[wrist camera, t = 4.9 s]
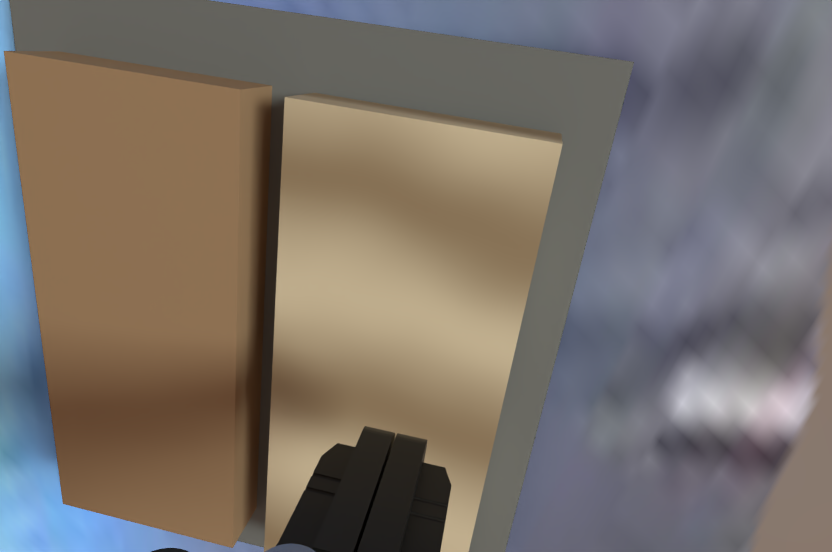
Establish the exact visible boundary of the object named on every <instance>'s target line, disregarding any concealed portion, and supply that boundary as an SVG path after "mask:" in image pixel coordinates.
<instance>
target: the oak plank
mask: <svg viewBox="0 0 832 552" xmlns="http://www.w3.org/2000/svg"><path fill="white" fill-rule="evenodd" d="M562 145H563V142H562V134H560V133H554V132H548V131H542V130H536V129H530V128H524V127H518V126H512V125H506V124H500V123H494V122H488V121H482V120H476V119H470V118H464V117H458V116H452V115H446V114H440V113H434V112H428V111H422V110H416V109H410V108H404V107H398V106H392V105H386V104H380V103H374V102H368V101H362V100H355V99H349V98H343V97H337V96H331V95H325V94H319V93H309V94H302V95H295V96H288V97H285V102H284V124H283V146H282V168H281V189H280V211H279V233H278V255H277V277H276V299H275V321H274V343H273V365H272V387H271V409H270V431H269V453H268V475H267V497H266V519H265V541H264V552H265V551H267V550H269V549H270V548H272V547H275V546H276V545H277V543H278V542H279V540H280V538H281V536H282V534H283V532H284V530H285V528H286V526H287V524H288V522H289V520H290V518H291V516H292V514H293V512H294V510H295V508H296V506H297V504H298V502H299V500H300V498H301V496H302V494H303V492H304V490H305V489H306V486H307V484H308V482H309V480H310V478H311V476H312V475H313V472H314V470H315V468H316V466H317V464H318V462H319V460H320V458H321V456H322V455H323V454H324V453H326V452H327V451H328V450H329V449H331V448H332V447H333V446H334V445H336V444H337V443H340V444H344V445H349V446H353V447H355V446H356V444H357V442H358V439H359V437H360V435H361V432H362V430H363V428H364V427H365V426H368V427H372V428H377V429H381V430H386V431H390V432H394V433H395V437H396V435H397V433H400V434H404V435H408V436H413V437H417V438H422V439H426V440H427V448H426V453H425V459H424V463H428V464H432V465H437V466H441V467H445V468H446V471H447V474H448V477H449V480H450V483H451V492H450V498H449V503H448V509H447V515H446V521H445V527H444V533H443V539H442V545H441V550H440V552H469V548H470V543H471V539H472V535H473V530H474V526H475V522H476V517H477V513H478V509H479V504H480V500H481V496H482V491H483V487H484V483H485V478H486V474H487V470H488V465H489V461H490V457H491V453H492V448H493V444H494V440H495V435H496V431H497V427H498V422H499V418H500V414H501V409H502V405H503V401H504V396H505V392H506V388H507V383H508V379H509V375H510V370H511V366H512V362H513V357H514V353H515V349H516V344H517V340H518V336H519V331H520V327H521V323H522V318H523V314H524V310H525V305H526V301H527V297H528V292H529V288H530V284H531V279H532V275H533V271H534V266H535V262H536V258H537V253H538V249H539V245H540V240H541V236H542V232H543V227H544V223H545V219H546V214H547V210H548V206H549V201H550V197H551V193H552V188H553V184H554V180H555V175H556V171H557V167H558V162H559V158H560V154H561V149H562Z"/></svg>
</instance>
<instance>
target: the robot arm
mask: <svg viewBox="0 0 832 552" xmlns="http://www.w3.org/2000/svg"><path fill="white" fill-rule="evenodd" d="M426 448H427V440H426V439H422V438H417V437H413V436H408V435H404V434H400V433H397V435H396V437H395V433H394V432H390V431H386V430H381V429H377V428H372V427H368V426H365V427H364V428H363V430H362V432H361V435H360V437H359V439H358V442H357V444H356V446H355V447H353V446H349V445H344V444H340V443H337V444H336V445H334V446H333V447H332V448H331V449H329V450H328V451H327V452H326V453H324V454H323V455H322V456H321V458H320V460H319V462H318V464H317V466H316V468H315V470H314V472H313V475H312V476H311V478H310V480H309V482H308V484H307V486H306V489H305V490H304V492H303V494H302V496H301V498H300V500H299V502H298V504H297V506H296V508H295V510H294V512H293V514H292V516H291V518H290V520H289V522H288V524H287V526H286V528H285V530H284V532H283V534H282V536H281V538H280V540H279V542H278V543H277V545H276V546H275V547H272V548H270V549H269V550H267V551H265V552H440V550H441V545H442V539H443V533H444V527H445V521H446V515H447V509H448V503H449V498H450V492H451V483H450V480H449V477H448V474H447V471H446V468H445V467H441V466H437V465H432V464H428V463H424V459H425V453H426ZM152 552H188V551H186V550H182V549H177V548H165V549H159V550H155V551H152Z"/></svg>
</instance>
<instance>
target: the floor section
mask: <svg viewBox="0 0 832 552" xmlns="http://www.w3.org/2000/svg"><path fill="white" fill-rule="evenodd" d="M9 1H10V9H11V17H12V25H13V33H14V41H15V49H16V51H4V56H5V64H6V71H7V79H8V86H9V94H10V102H11V109H12V117H13V125H14V132H15V140H16V148H17V155H18V163H19V171H20V178H21V186H22V194H23V201H24V209H25V217H26V224H27V232H28V239H29V247H30V255H31V262H32V270H33V278H34V285H35V293H36V301H37V308H38V316H39V324H40V331H41V339H42V347H43V354H44V362H45V370H46V377H47V385H48V392H49V400H50V408H51V415H52V423H53V431H54V438H55V446H56V454H57V461H58V469H59V477H60V484H61V492H62V500H63V504H66V505H70V506H74V507H78V508H81V509H85V510H89V511H93V512H97V513H101V514H104V515H108V516H112V517H116V518H120V519H124V520H127V521H131V522H135V523H139V524H143V525H147V526H150V527H154V528H158V529H162V530H166V531H170V532H173V533H177V534H181V535H185V536H189V537H193V538H196V539H200V540H204V541H208V542H212V543H216V544H219V545H223V546H227V547H231V548H233V547H234V545H235V543H236V542H237V541H241V542H245V543H249V544H252V545H256V546H260V547H264V541H265V519H266V497H267V475H268V453H269V431H270V409H271V387H272V365H273V343H274V321H275V299H276V277H277V255H278V233H279V211H280V189H281V168H282V146H283V124H284V102H285V97H288V96H295V95H302V94H309V93H319V94H325V95H331V96H337V97H343V98H349V99H355V100H362V101H368V102H374V103H380V104H386V105H392V106H398V107H404V108H410V109H416V110H422V111H428V112H434V113H440V114H446V115H452V116H458V117H464V118H470V119H476V120H482V121H488V122H494V123H500V124H506V125H512V126H518V127H524V128H530V129H536V130H542V131H548V132H554V133H560V134H562V142H563V145H562V149H561V154H560V158H559V162H558V167H557V171H556V175H555V180H554V184H553V188H552V193H551V197H550V201H549V206H548V210H547V214H546V219H545V223H544V227H543V232H542V236H541V240H540V245H539V249H538V253H537V258H536V262H535V266H534V271H533V275H532V279H531V284H530V288H529V292H528V297H527V301H526V305H525V310H524V314H523V318H522V323H521V327H520V331H519V336H518V340H517V344H516V349H515V353H514V357H513V362H512V366H511V370H510V375H509V379H508V383H507V388H506V392H505V396H504V401H503V405H502V409H501V414H500V418H499V422H498V427H497V431H496V435H495V440H494V444H493V448H492V453H491V457H490V461H489V465H488V470H487V474H486V478H485V483H484V487H483V491H482V496H481V500H480V504H479V509H478V513H477V517H476V522H475V526H474V530H473V535H472V539H471V543H470V548H469V552H505V549H506V545H507V542H508V538H509V534H510V530H511V526H512V523H513V519H514V515H515V511H516V508H517V504H518V500H519V496H520V492H521V489H522V485H523V481H524V477H525V473H526V470H527V466H528V462H529V458H530V454H531V451H532V447H533V443H534V439H535V435H536V432H537V428H538V424H539V420H540V416H541V413H542V409H543V405H544V401H545V398H546V394H547V390H548V386H549V382H550V379H551V375H552V371H553V367H554V363H555V360H556V356H557V352H558V348H559V344H560V341H561V337H562V333H563V329H564V325H565V322H566V318H567V314H568V310H569V306H570V303H571V299H572V295H573V291H574V288H575V284H576V280H577V276H578V272H579V269H580V265H581V261H582V257H583V253H584V250H585V246H586V242H587V238H588V234H589V231H590V227H591V223H592V219H593V215H594V212H595V208H596V204H597V200H598V196H599V193H600V189H601V185H602V181H603V178H604V174H605V170H606V166H607V162H608V159H609V155H610V151H611V147H612V143H613V140H614V136H615V132H616V128H617V124H618V121H619V117H620V113H621V109H622V105H623V102H624V98H625V94H626V90H627V86H628V83H629V79H630V75H631V71H632V68H633V64H634V62H630V61H623V60H616V59H609V58H603V57H596V56H589V55H582V54H575V53H568V52H561V51H554V50H547V49H541V48H534V47H527V46H520V45H513V44H506V43H499V42H492V41H485V40H478V39H472V38H465V37H458V36H451V35H444V34H437V33H430V32H423V31H416V30H409V29H403V28H396V27H389V26H382V25H375V24H368V23H361V22H354V21H347V20H341V19H334V18H327V17H320V16H313V15H306V14H299V13H292V12H285V11H278V10H272V9H265V8H258V7H251V6H244V5H237V4H230V3H223V2H216V1H209V0H9Z"/></svg>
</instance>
